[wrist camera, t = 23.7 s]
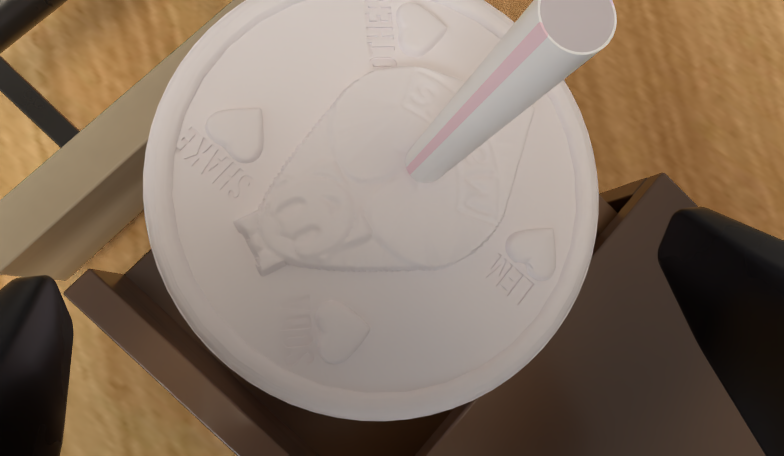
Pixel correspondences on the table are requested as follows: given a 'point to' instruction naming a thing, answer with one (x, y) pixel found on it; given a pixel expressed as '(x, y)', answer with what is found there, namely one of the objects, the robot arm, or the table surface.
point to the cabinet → (611, 363)
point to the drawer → (153, 266)
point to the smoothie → (377, 195)
